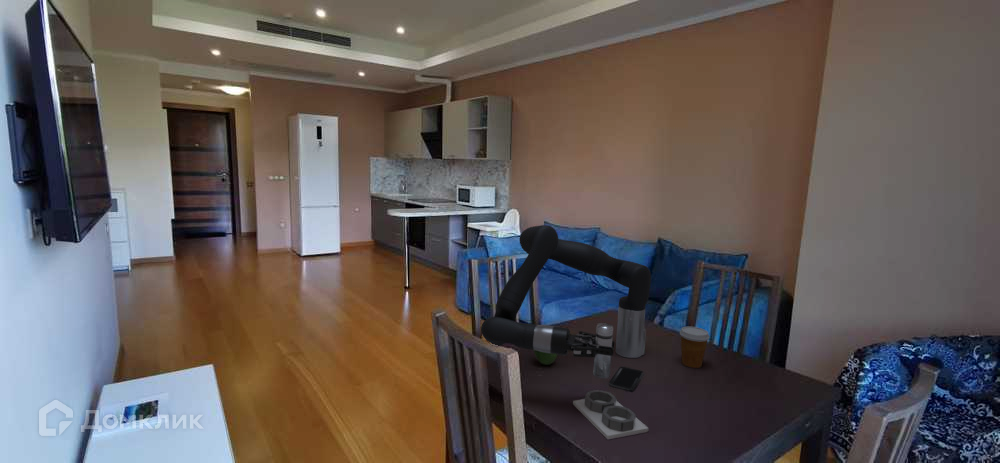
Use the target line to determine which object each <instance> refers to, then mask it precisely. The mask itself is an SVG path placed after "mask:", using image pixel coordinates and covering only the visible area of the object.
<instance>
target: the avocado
mask: <svg viewBox="0 0 1000 463" xmlns="http://www.w3.org/2000/svg"><path fill="white" fill-rule="evenodd" d="M533 351H534V355H535V358H536V359H537V361H538V362H540V363H541V364H542V365H544V366H545V365H546V366H548V365H549V366H550V365H551V364H554V362H555V360H556V359H557V357H558V354H552V353H545V352H540V351H536V350H533Z"/></svg>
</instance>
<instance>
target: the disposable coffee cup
mask: <svg viewBox="0 0 1000 463" xmlns="http://www.w3.org/2000/svg"><path fill="white" fill-rule="evenodd" d="M679 335H680V345H681V346H680V347H681V348H680V349H681V351H680V352H681V364H683V365H684V366H686V367H689V368H693V369H699V368H701V367H702V364H703V361H704V357H705V352H706V348H707V344H708V341H709V339H710V334H709V332H708V330H706V329H704V328H701V327H698V326H683V327H682V328H681V329H680V331H679Z"/></svg>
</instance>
